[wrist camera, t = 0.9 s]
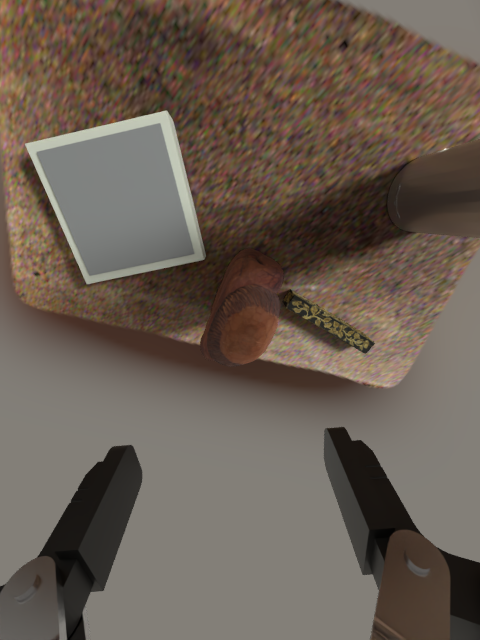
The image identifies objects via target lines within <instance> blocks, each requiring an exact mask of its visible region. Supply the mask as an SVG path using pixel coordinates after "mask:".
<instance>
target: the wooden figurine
mask: <svg viewBox="0 0 480 640" xmlns="http://www.w3.org/2000/svg"><path fill="white" fill-rule="evenodd" d="M283 279H284V273H283V270H282V268H281V267H280V264H279V263H278V262H276V261H275V260H274V259H272V258H270V257H267V256H265V255H264V254H262V253H261V252H259V251H256V250H254V249H252V248H248V249H244V250H242V251H240V252H239V253H238V254H237V255H236V256H235V257H234V258H233V259H232V260H231V262H230V264H229V265H228V267H227V270H226V272H225V274H224V277H223V280H222V282H221V285H220V287H219V289H218V291H217V294H216V297H215V300H214V303H213V305H212V309H211V314H210V317H209V320H208V322H207V325H206V329H205V331H204V334H203V336H202V338H201V342H200V349H201V352H202V354H203V356H204V357H205V358H206V359H208V360H215V361H217V362H218V363H220V364H222V365H226V366H231V367H233V366H239V365H242V364H246V363H249V362H252V361H254V360H256V359H257V358H258V357H260V356H261V355H262V354H263V353H264V352H265V350H266V349H267V347H268V345H269V343H270V342H271V340H272V338H273V336H274V334H275V332H276V329H277V325H278V319H279V314H280V307H281V304H280V299H279V296H278V295H277V293H278V291H279V290H280V288H281V286H282V283H283Z"/></svg>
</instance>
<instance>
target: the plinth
mask: <svg viewBox="0 0 480 640" xmlns="http://www.w3.org/2000/svg"><path fill="white" fill-rule="evenodd" d="M25 145H26V147H27V150H28V152H29V154H30V156H31V159H32V161H33V163H34V165H35V168H36V170H37V172H38V175H39V177H40V179H41V181H42V184H43V186H44V188H45V190H46V193H47V195H48V197H49V200H50V202H51V204H52V206H53V209H54V211H55V213H56V215H57V218H58V220H59V222H60V224H61V227H62V229H63V231H64V234H65V236H66V238H67V240H68V243H69V245H70V247H71V249H72V252H73V254H74V256H75V259H76V261H77V263H78V265H79V268H80V270H81V272H82V274H83V277H84V279H85V281H86V284H91V283H95V282H100V281H105V280H110V279H115V278H119V277H124V276H129V275H134V274H138V273H143V272H148V271H153V270H158V269H162V268H167V267H172V266H177V265H182V264H186V263H191V262H196V261H201V260H204V259H205V257H206V253H205V249H204V245H203V241H202V237H201V233H200V229H199V225H198V221H197V216H196V212H195V208H194V204H193V200H192V196H191V192H190V188H189V184H188V180H187V176H186V172H185V167H184V163H183V159H182V155H181V151H180V147H179V143H178V139H177V135H176V131H175V127H174V123H173V120H172V118H171V117H170V115H169V113H168V112H167V111H163V112H159V113H154V114H150V115H146V116H142V117H137V118H133V119H129V120H125V121H121V122H116V123H112V124H108V125H104V126H99V127H95V128H91V129H87V130H82V131H78V132H74V133H70V134H65V135H61V136H57V137H53V138H48V139H44V140H40V141H36V142H31V143H27V144H25Z"/></svg>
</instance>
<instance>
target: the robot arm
mask: <svg viewBox="0 0 480 640" xmlns="http://www.w3.org/2000/svg"><path fill="white" fill-rule="evenodd" d="M387 208H388V213H389V216H390V218H391V220H392V222H393V223H394V224H395V225H396V226H397V227H398V228H400V229H402V230H404V231H408V232H418V233H428V234H439V235H450V236H461V237H472V238H480V139H478V140H475V141H471V142H468V143H465V144H462V145H458V146H455V147H452V148H449V149H445V150H441V151H438V152H435V153H432V154H429V155H425V156H422V157H419V158H417V159H415V160H413V161H411V162H410V163H409V164H407V165H406V166H405V167H404V168H403V169H402V170H401V171H400V172H399V173H398V175H397V176H396V177H395V179H394V181H393V183H392V185H391V187H390V190H389V193H388V199H387ZM324 432H325V434H324V460H325V466H326V470H327V473H328V476H329V479H330V481H331V484H332V487H333V490H334V493H335V496H336V499H337V502H338V505H339V508H340V510H341V513H342V516H343V519H344V522H345V525H346V528H347V531H348V534H349V536H350V539H351V542H352V545H353V548H354V551H355V554H356V557H357V560H358V563H359V565H360V568H361V571H362V574H363V575H367V574H368V575H369V574H373V576H374V579H375V581H376V584H377V587H378V589H379V593H378V598H377V604H376V609H375V614H374V620H373V625H372V631H371V636H370V640H480V563H479V562H475V561H472V560H468V559H465V558H461V557H458V556H454V555H452V554H448V553H447V552H445V551H442V550H441V549H439V548H437V547H436V546H435V545H434V544H433V543H431V542H430V541H429V540H428V539H427V538H425V537H424V536H423V535H422V534H421V533H420V531H419V530H418V529H417V528H416V526H415V525H414V523H413V522H412V519H411V518H410V516H409V514H408V512H407V511H406V509H405V507H404V505H403V504H402V502H401V500H400V498H399V496H398V495H397V493H396V491H395V490H394V488H393V486H392V484H391V482H390V481H389V479H388V478H387V476H386V474H385V472H384V470H383V468H382V467H381V466H380V463H379V462H378V460H377V458H376V456H375V454H374V453H373V451H372V450H371V449H370V448H369V447H368V446H367V445H366V444H364V443H363V442H362V441H361V440H357V441H352V440H351V438H350V436H349V434H348V432H347V430H346V429H345V428H344V427H339V428H326V429H325V431H324ZM141 483H142V469H141V466H140V463H139V461H138V458H137V455H136V453H135V450H134V448H133V446H132V445H126V446H114V447H112V448H111V449H110V450H109V452H108V453H107V455H106V457H105V459H104V461H103V462H98V463H97V464H96V465H95V466H94V467H93V468H92V469H91V470H90V471H89V472H88V473H87V474H86V475H85V477H84V479H83V481H82V482H81V484H80V486H79V488H78V491H76V493H75V494H74V496H73V498H72V500H71V503H69V505H68V506H67V508H66V510H65V512H64V513H63V515H62V517H61V518H60V520H59V522H58V524H57V525H56V527H55V529H54V530H53V532H52V534H51V536H50V537H49V539H48V541H47V542H46V544H45V546H44V548H43V549H42V551H41V552H40V554H39V556H38V557H37V558H35V559H33V560H31V561H29V562H28V563H26V564H25V565H23V566H22V567H21V568H20V569H19V570H18V571H17V572H16V573H15V574H14V575H13V576H12V577H11V578H10V579H9V581H8V582H7V583H6V584H5V585H3V586H0V640H91V639H90V633H89V624H88V617H87V610H86V607H85V604H86V602H87V599H88V596H89V594H90V592H95V591H103V590H104V588H105V585H106V582H107V579H108V576H109V573H110V571H111V568H112V565H113V562H114V560H115V557H116V554H117V551H118V548H119V546H120V543H121V540H122V537H123V534H124V532H125V528H126V526H127V523H128V520H129V517H130V514H131V512H132V509H133V506H134V504H135V500H136V498H137V495H138V492H139V489H140V486H141Z"/></svg>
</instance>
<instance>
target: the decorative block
mask: <svg viewBox="0 0 480 640" xmlns="http://www.w3.org/2000/svg"><path fill="white" fill-rule="evenodd" d="M283 303H284V305H285V307H286V308H287V309H289V310H291V311H292V312H294V313H296V314H297V315H299V316H301V317H303V318H304V319H306V320H308V321H310V322H311V323H313V324H315V325H317V326H318V327H320V328H322V329H324V330H325V331H327V332H329V333H330V334H332V335H334V336H335V337H337V338H339V339H341V340H342V341H344V342H346V343H348V344H349V345H351V346H353V347H354V348H356V349H358V350H359V351H361V352H363V353H365V354H366V353H367V352H368V351H369V350H370V348H371V347H372V346H373V345H374V344H375V343H374V341H372V340H371V339H370V338H369V337H368V336H367V335H365V334H363V332H361V331H359V330H357V329H356V328H353V327H352V326H351V325H349V324H348V323H345V321H343V320H341V319H340V318H337V317H336V316H335V315H333V314H331V313H330V312H328V311H326V310H325V309H323V308H321V307H319V306H318V305H315V304H314V303H313V302H312V301H310V300H308V299H306V298H304V297H302V296H300V295H299V294H298V293H296V292H294V291H292V290H291V289H290V290H289V292H288V293H287V295H286V296H285V298H284V300H283Z"/></svg>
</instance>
